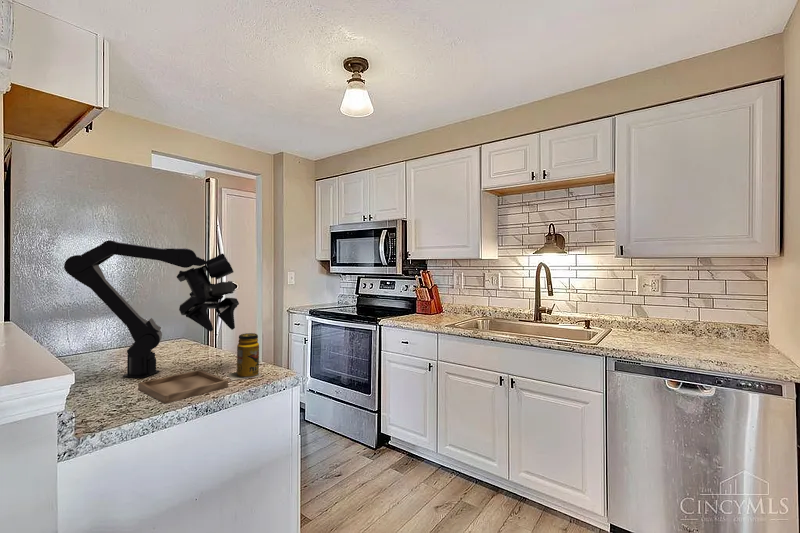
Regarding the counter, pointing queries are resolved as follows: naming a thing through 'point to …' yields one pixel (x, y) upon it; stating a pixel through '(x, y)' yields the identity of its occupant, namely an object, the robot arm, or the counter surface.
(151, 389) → the tray
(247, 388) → the counter surface
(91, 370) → the counter surface
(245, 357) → the condiment
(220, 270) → the robot arm
